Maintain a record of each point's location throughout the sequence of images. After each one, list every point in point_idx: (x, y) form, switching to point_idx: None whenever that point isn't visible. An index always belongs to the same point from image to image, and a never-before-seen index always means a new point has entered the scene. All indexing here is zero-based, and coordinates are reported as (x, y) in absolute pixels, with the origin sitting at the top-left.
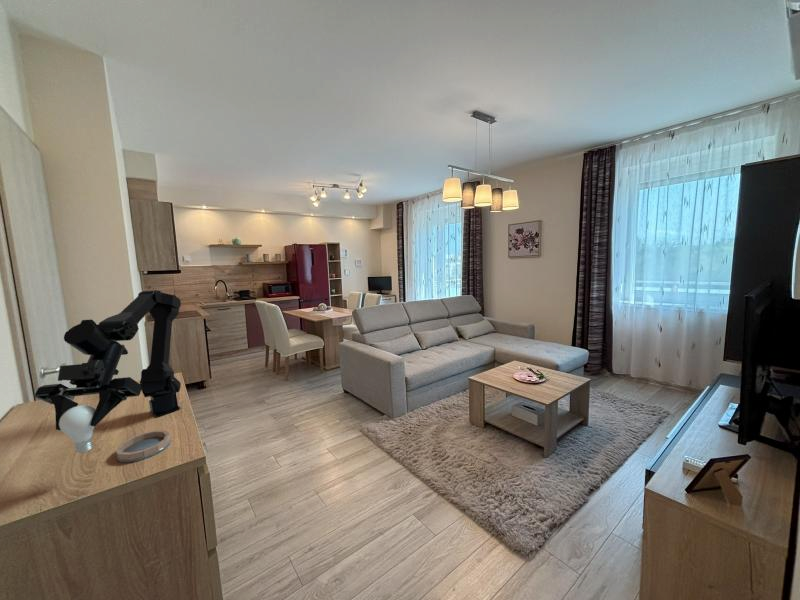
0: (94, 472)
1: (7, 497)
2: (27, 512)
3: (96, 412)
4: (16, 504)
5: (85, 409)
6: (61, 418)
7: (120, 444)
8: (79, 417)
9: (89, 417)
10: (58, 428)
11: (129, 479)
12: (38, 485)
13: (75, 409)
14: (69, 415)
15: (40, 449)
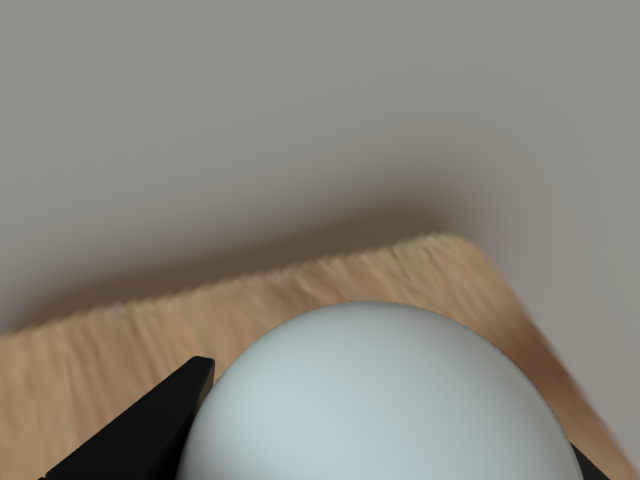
0: None
1: (589, 406)
2: (433, 256)
3: (124, 446)
4: (512, 332)
5: (259, 465)
6: (525, 377)
7: None
8: (298, 334)
9: (212, 392)
10: None
11: (120, 320)
12: None
13: (403, 449)
14: (426, 344)
15: None
